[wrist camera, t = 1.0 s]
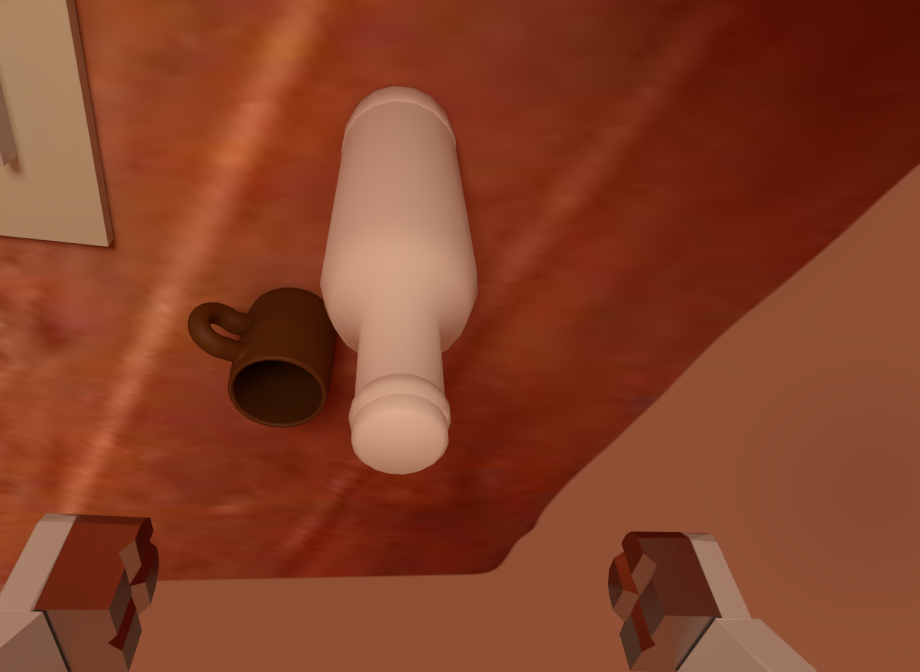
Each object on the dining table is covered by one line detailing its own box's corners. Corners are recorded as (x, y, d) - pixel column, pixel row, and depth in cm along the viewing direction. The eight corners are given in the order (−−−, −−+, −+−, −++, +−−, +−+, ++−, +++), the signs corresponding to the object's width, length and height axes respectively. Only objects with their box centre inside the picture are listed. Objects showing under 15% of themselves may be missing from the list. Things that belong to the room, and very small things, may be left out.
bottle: (364, 200, 51) (333, 529, 27) (328, 100, 46) (253, 394, 22) (465, 175, 50) (523, 490, 26) (440, 71, 45) (484, 342, 22)
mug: (185, 291, 54) (151, 364, 47) (240, 233, 52) (214, 302, 44) (300, 367, 60) (286, 443, 53) (356, 319, 57) (349, 393, 50)
